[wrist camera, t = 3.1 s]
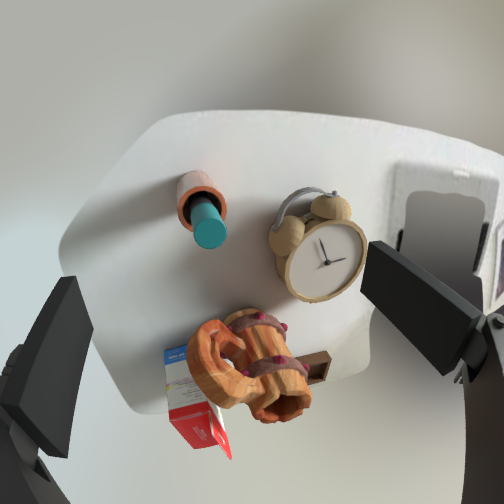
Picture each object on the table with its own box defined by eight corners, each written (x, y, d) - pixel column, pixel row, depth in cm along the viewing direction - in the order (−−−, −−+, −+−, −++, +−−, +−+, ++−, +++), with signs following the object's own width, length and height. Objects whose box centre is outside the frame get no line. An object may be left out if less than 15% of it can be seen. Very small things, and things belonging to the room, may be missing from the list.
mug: (291, 317, 39) (341, 398, 26) (255, 355, 41) (289, 439, 27) (204, 267, 33) (228, 362, 19) (167, 316, 34) (173, 417, 21)
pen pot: (172, 202, 29) (172, 227, 22) (182, 166, 28) (185, 180, 20) (207, 210, 30) (218, 238, 23) (218, 176, 29) (233, 193, 22)
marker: (183, 197, 28) (190, 245, 17) (188, 178, 28) (199, 214, 17) (202, 201, 29) (221, 252, 18) (207, 183, 28) (231, 222, 17)
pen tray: (244, 388, 43) (247, 398, 42) (245, 366, 41) (248, 376, 39) (320, 372, 47) (325, 380, 45) (326, 350, 44) (331, 358, 43)
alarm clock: (302, 318, 36) (260, 233, 26) (287, 294, 40) (243, 210, 30) (373, 273, 36) (357, 178, 27) (353, 253, 40) (330, 163, 30)
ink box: (162, 349, 36) (169, 443, 23) (196, 340, 37) (215, 433, 24) (183, 386, 40) (197, 469, 27) (214, 378, 41) (235, 460, 28)
